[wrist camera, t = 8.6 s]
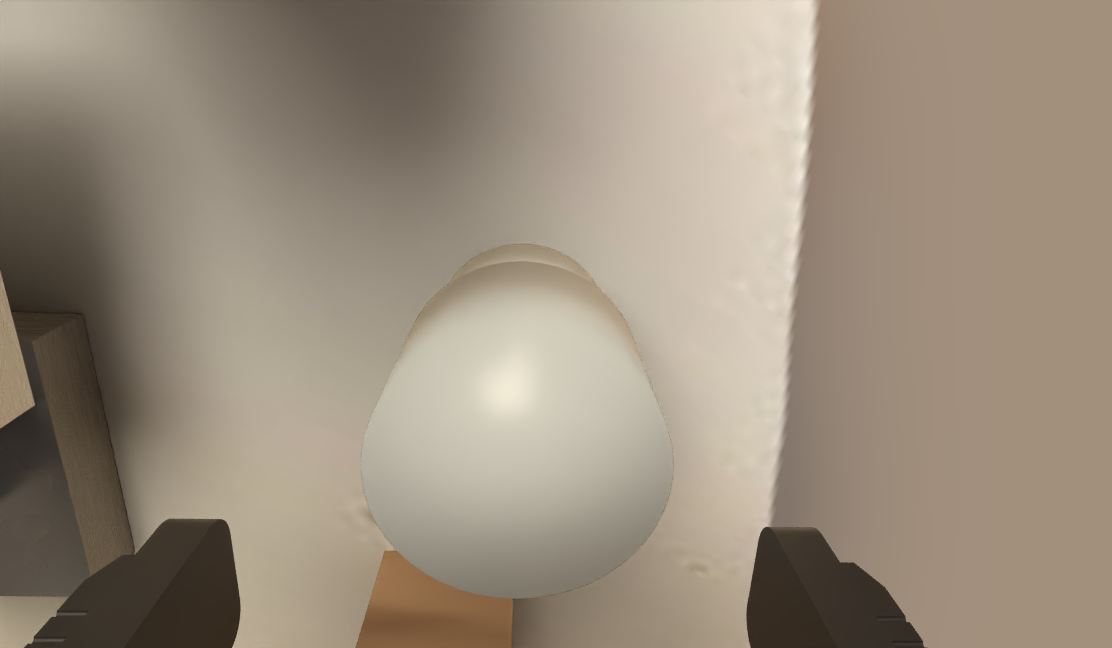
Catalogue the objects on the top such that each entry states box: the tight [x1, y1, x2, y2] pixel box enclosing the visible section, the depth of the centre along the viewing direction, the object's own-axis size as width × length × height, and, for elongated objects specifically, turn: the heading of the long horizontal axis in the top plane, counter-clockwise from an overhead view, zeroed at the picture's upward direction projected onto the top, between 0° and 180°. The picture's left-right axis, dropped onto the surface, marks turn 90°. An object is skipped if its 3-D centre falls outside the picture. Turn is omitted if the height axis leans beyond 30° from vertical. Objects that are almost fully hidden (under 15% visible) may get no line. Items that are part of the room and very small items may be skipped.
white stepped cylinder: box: [361, 244, 673, 599], centre depth 15 cm, size 6×6×8 cm
